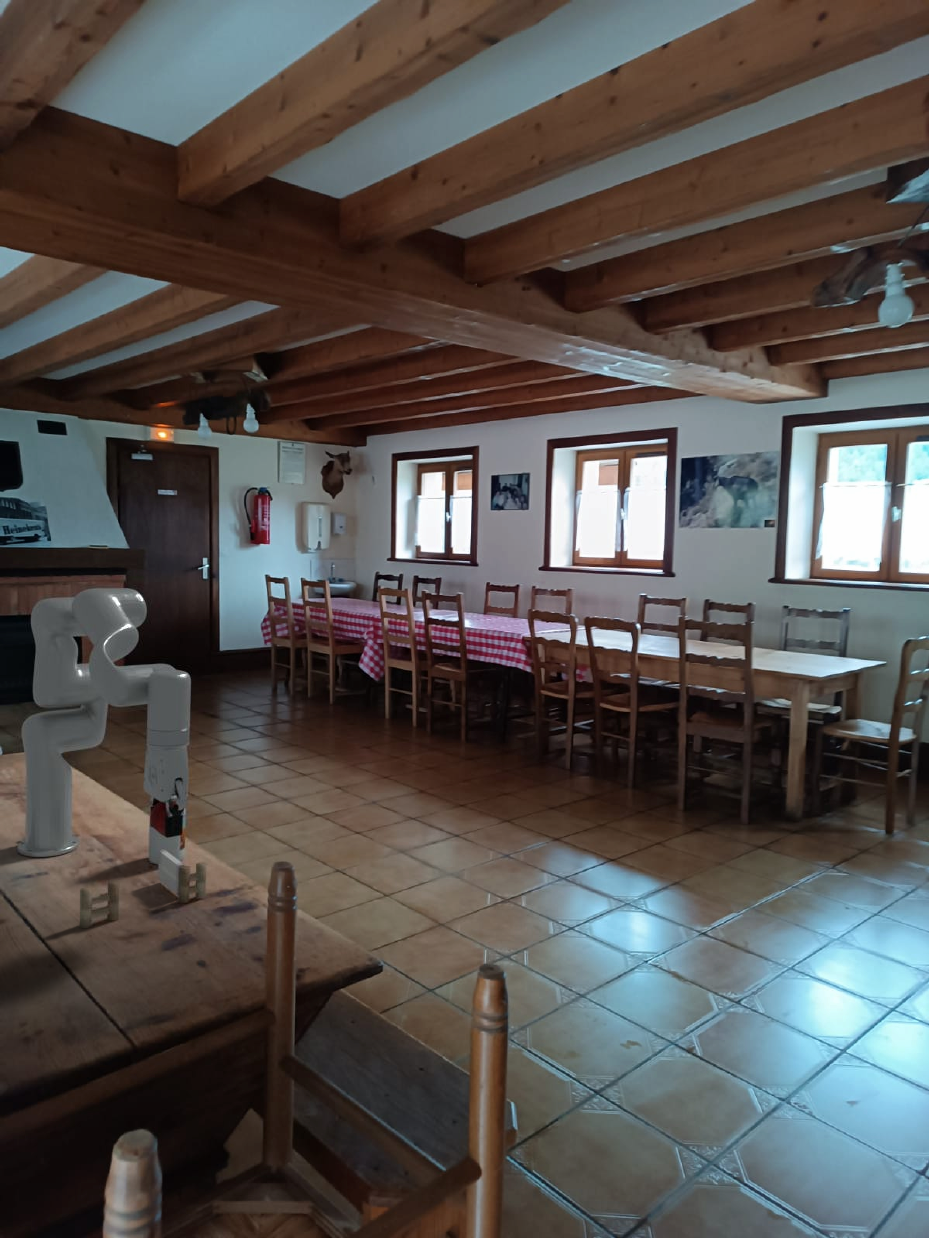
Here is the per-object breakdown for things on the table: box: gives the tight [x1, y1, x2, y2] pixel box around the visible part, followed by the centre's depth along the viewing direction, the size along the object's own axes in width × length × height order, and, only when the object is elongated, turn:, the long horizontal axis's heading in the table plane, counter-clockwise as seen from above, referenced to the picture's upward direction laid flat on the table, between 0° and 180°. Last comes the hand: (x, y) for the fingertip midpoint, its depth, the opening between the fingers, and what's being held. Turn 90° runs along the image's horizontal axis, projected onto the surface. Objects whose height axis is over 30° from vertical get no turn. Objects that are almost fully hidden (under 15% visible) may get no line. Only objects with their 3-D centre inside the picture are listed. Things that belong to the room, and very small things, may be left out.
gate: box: [157, 850, 185, 897], centre depth 176 cm, size 10×1×6 cm, turn 42°
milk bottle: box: [148, 795, 187, 866], centre depth 192 cm, size 8×8×20 cm
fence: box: [79, 861, 207, 929], centre depth 166 cm, size 2×24×7 cm, turn 131°
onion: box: [149, 798, 177, 836], centre depth 160 cm, size 6×6×8 cm
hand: (166, 830), depth 160 cm, fingers closed on onion, 5 cm apart
